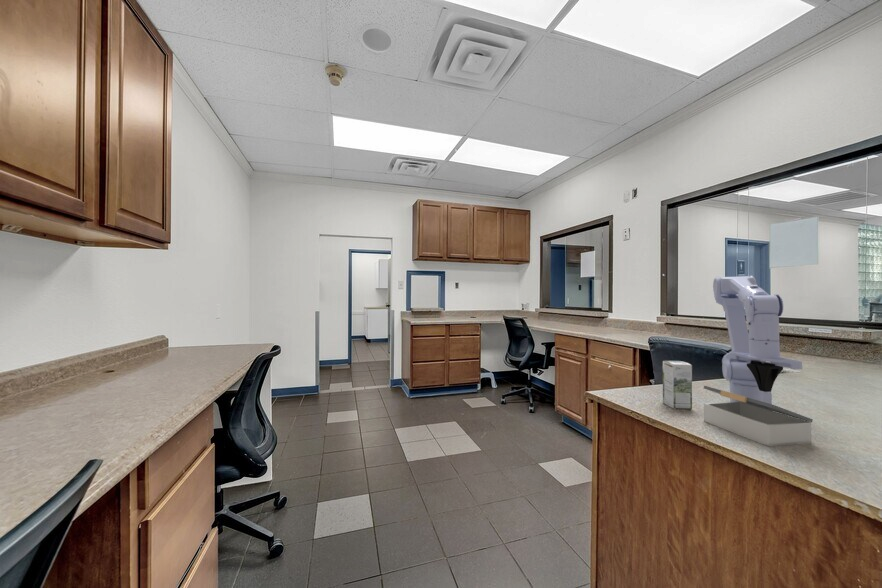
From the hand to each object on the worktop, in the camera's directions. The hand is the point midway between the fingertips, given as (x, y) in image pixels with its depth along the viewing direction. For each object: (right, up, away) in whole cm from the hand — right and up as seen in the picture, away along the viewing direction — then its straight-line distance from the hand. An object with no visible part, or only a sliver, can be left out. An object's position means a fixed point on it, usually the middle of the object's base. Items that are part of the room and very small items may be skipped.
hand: (765, 391), depth 83 cm
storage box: (-4, -10, -1) cm, 11 cm away
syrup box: (-9, -11, +19) cm, 24 cm away
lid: (-4, -4, -1) cm, 6 cm away
